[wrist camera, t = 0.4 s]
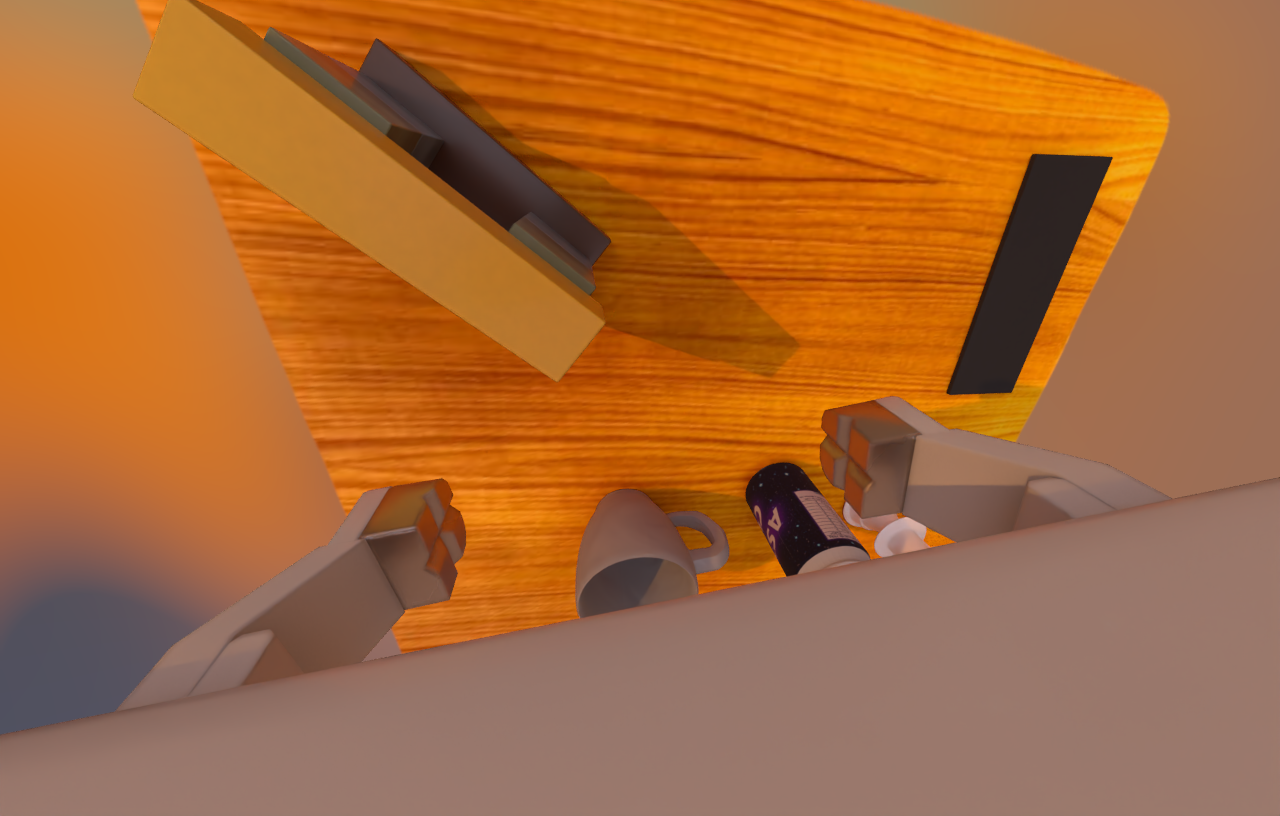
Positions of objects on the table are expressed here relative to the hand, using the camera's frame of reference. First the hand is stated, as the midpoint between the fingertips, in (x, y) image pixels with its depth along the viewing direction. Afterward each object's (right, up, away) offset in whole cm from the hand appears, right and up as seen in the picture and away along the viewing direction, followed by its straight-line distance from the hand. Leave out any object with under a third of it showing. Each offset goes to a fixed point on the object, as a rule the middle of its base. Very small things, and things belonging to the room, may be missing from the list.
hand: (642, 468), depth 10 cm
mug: (0, -8, +31) cm, 32 cm away
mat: (+30, +11, +26) cm, 40 cm away
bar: (-9, +9, +9) cm, 16 cm away
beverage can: (+12, -5, +31) cm, 34 cm away
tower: (-10, +14, +18) cm, 25 cm away
